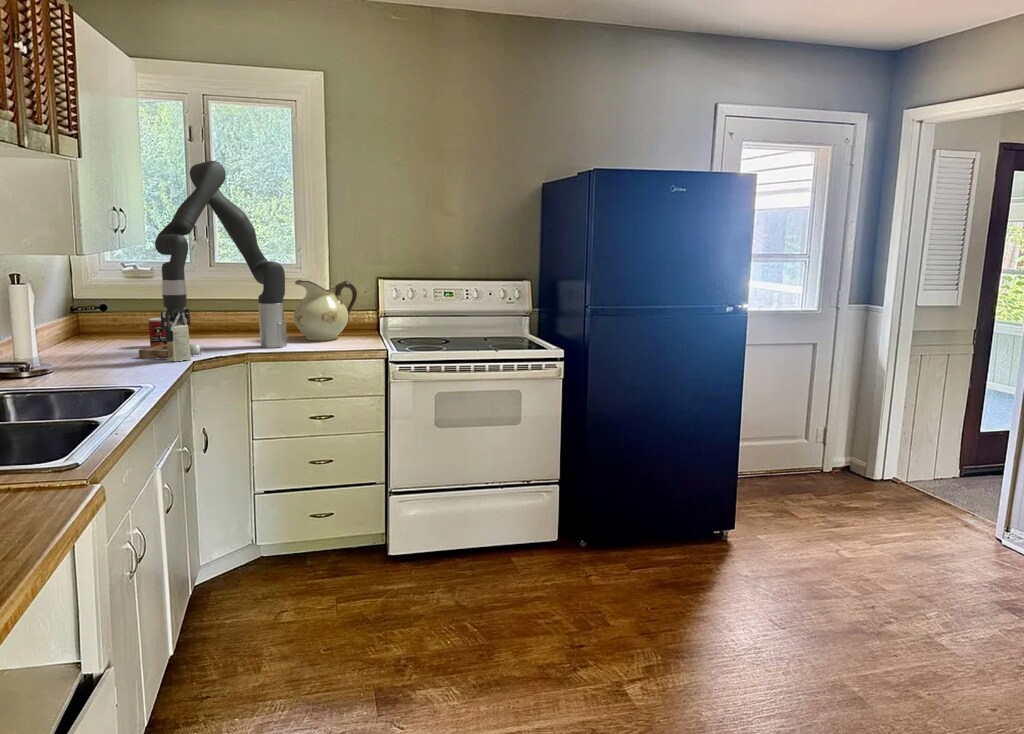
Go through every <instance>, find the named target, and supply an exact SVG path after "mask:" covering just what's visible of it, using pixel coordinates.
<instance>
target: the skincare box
mask: <svg viewBox="0 0 1024 734" xmlns="http://www.w3.org/2000/svg"><path fill="white" fill-rule="evenodd" d="M189 333H190V331H189V326H185V325H179V324H177V325H175V326H174V328H173V339H174V341H173V342H167V348H168V359H167V360H168V362H171V361H181V362H184V361H183V360H187V361H191V360H192V356H191V354H190V344H191V343H190V334H189Z"/></svg>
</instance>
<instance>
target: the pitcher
mask: <svg viewBox="0 0 1024 734" xmlns="http://www.w3.org/2000/svg"><path fill="white" fill-rule="evenodd" d="M294 283H295V285H297V286H301V287H303V288H304V289H305V291H306V293H305V296H304V297H303V298H302V299H301V300H300V302H299V303H298V304H297V305H296V307H295V308H294V311H293V321H294V324H295V326H296V328H297V329H298V330H299V332H300V333H302V334H303V335H304V336H305V338H306V340H307V341H314V342H325V341H328V342H329V341H334V340H337V338H338V335H339V334H340V333H342V331H343V330H345V328H346V326H347V323H350V322H351V321H350V315H351V314H350V313H351V311H352V310H353V309H352V308H353V307H354V305H355V303H356V302H357V297H358V292H357V288H356V287H355V285H354V284H353V283H352V282H349V280H344V281H342V282H339V283H337V284H336V285H335V286H334V287H332V288H329V289H325V288H324V287H322V286H321V285H318V284H317V283H315V282H312V281H310V280H303V279H298V280H295V281H294ZM344 288H345V289H349V290H350V291H351V296H352V297H351V300H350V301H349V304H348V307H347V306H346V305H345V304H344V303H343V300H342V296H341V295H342V291H343V289H344Z"/></svg>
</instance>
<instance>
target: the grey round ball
mask: <svg viewBox="0 0 1024 734" xmlns="http://www.w3.org/2000/svg"><path fill="white" fill-rule="evenodd" d="M190 354H191V355H199V354H200V355H201V346H200V343H190Z"/></svg>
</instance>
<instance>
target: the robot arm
mask: <svg viewBox="0 0 1024 734" xmlns="http://www.w3.org/2000/svg"><path fill="white" fill-rule="evenodd" d="M226 176H227V175H226V169H225V168H224V166H223V164H221V163H220V162H219V161H216V160H209V161H207V160H206V161H203V162H201V163H200V162H199V163H196V164H194V165H192V166H191V167H190V169H189V177H190V180H191V183H192V184H193V185H194V187H195V189H194V190H193V191H192V192H191V193H190V195H189V196H188V197H187V198H186V199H185V200H184V201H183V202H182V203H181V204H180V205H179V206H178V208H177V210H176V212H175V214H174V216H173V217H172V219H171V220H170V222H169V223H168V224H167V225H165V227H164V228H162V230H161V231H160V232H159V233H158V235H157V236H156V237H155V241H154V246H155V249H156V251H157V252H158V253H159V254H160V255H163V256H170V258H169V261H167V262H164V263H162V265H161V278H162V283H161V293H162V307H164V308H166V311H160V318H161V329H164V330H165V331H166V341H167V342H173V341H174V339H173V328H174V326H177V325H185V326H188V327H189V326H191V325H192V323H191V322H192V321H191V312H190V309H189V308H186V307H188V300H187V285H186V279H185V278H186V277H185V276H186V275H185V265H186V262H187V256H188V252H189V244H188V242H189V241H188V240H187V238H186V237H185V236H187V235H190V234H191V232H192V230H193V229H194V228H195V226H196V223H197V221H198V219H199V218H200V216H201V214H202V213H203V211H204V209H205V208H206V206H207V205H209V206H210V208H211V209H212V210H213V212H214V214H215V215H216V216H217V218H218V220H219V221H220V223H221V225H222V226H223V227H224V229H225V231H226V232H227V234H228V236H229V237H230V239H231V240H232V242H233V243H234V244H235V246H236V248H237V249H238V251H239V253H240V254H241V255H242V257H243V258H244V261H245V262H246V264H247V266H248V268H249V270H250V272H251V274H252V276H253V278H254V280H255V281H256V282H257V283H258V284H260V285H262V286H263V287H262V288H263V289H262V290H263V291H262V293H260V295H258V315H259V316H258V320H259V339H260V342H259V343H260V347H261V348H265V349H267V348H268V349H270V348H271V349H272V348H273V349H274V348H283V347H286V346H288V336H287V335H288V333H287V331H288V330H287V321H285V316H284V315H285V314H284V298H285V294H286V273H285V269H284V267H283V266H282V264H281V263H279V262H276V261H269V260H268V259H267V258H266V257H265V255H264V254H263V252H262V251H261V249H260V247H259V244H258V239H257V233H256V231H255V227H254V225H253V224H252V221H251V220H250V219H249V217H248V216H247V214H246V213H245V212H244V211H243V210H242V209H241V208H240V207H238V206H237V205H236V204H235V203H233V201H230V200H229V199H228V198H227V197H226V196H225V195H224V194H223V192H221V190H220V188H221V186H222V185H223V184H224V183H225V180H226V178H227V177H226ZM164 322H165V324H166V325H165V326H164ZM170 325H171V326H170Z"/></svg>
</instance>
